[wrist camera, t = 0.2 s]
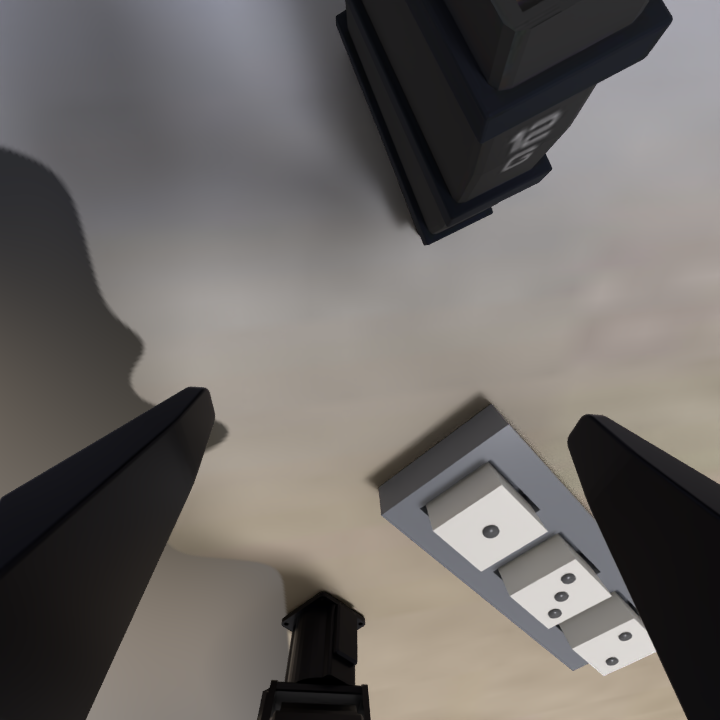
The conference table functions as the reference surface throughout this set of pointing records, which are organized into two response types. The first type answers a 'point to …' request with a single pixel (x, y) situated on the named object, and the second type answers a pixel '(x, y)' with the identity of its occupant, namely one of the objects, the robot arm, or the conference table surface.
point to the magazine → (484, 89)
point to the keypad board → (532, 481)
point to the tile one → (484, 518)
